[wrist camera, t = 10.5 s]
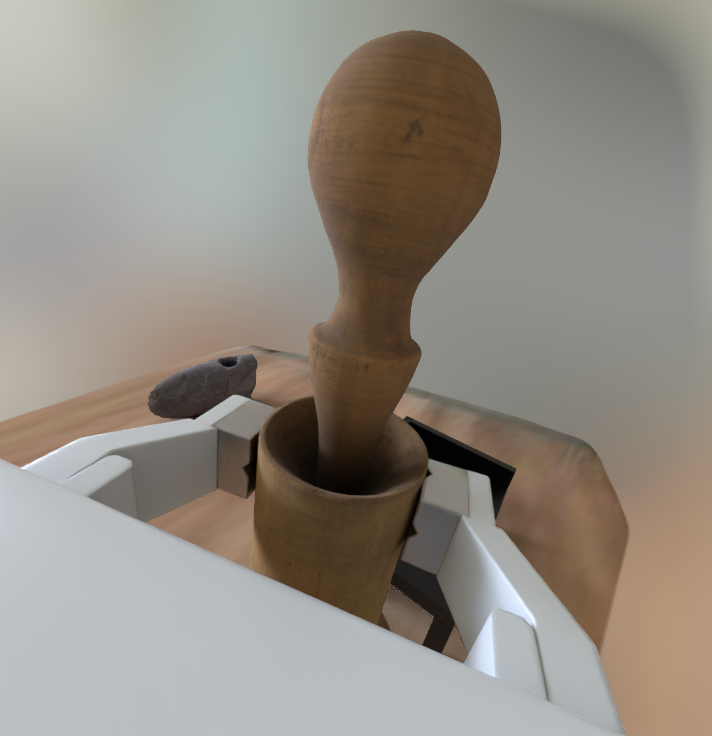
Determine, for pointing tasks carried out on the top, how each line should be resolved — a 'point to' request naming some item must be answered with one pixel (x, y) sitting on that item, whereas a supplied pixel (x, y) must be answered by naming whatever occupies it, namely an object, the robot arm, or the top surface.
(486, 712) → the robot arm
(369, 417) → the mortar and pestle
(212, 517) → the top surface
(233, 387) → the perforated stone tool
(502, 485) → the tray
